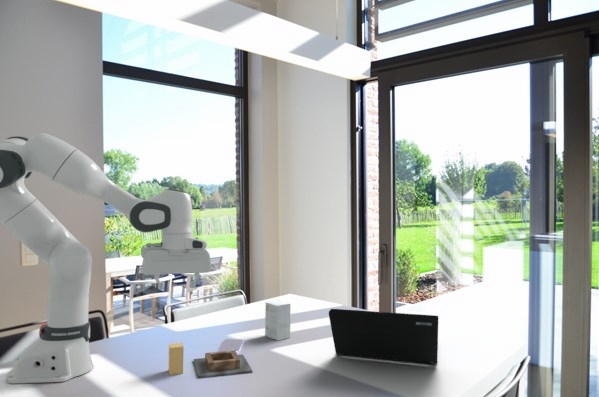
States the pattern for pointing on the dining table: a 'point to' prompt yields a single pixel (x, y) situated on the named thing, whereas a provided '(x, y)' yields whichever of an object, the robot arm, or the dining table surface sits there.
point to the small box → (277, 320)
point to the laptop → (385, 335)
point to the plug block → (175, 358)
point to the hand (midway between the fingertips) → (177, 288)
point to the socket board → (221, 364)
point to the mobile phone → (231, 345)
